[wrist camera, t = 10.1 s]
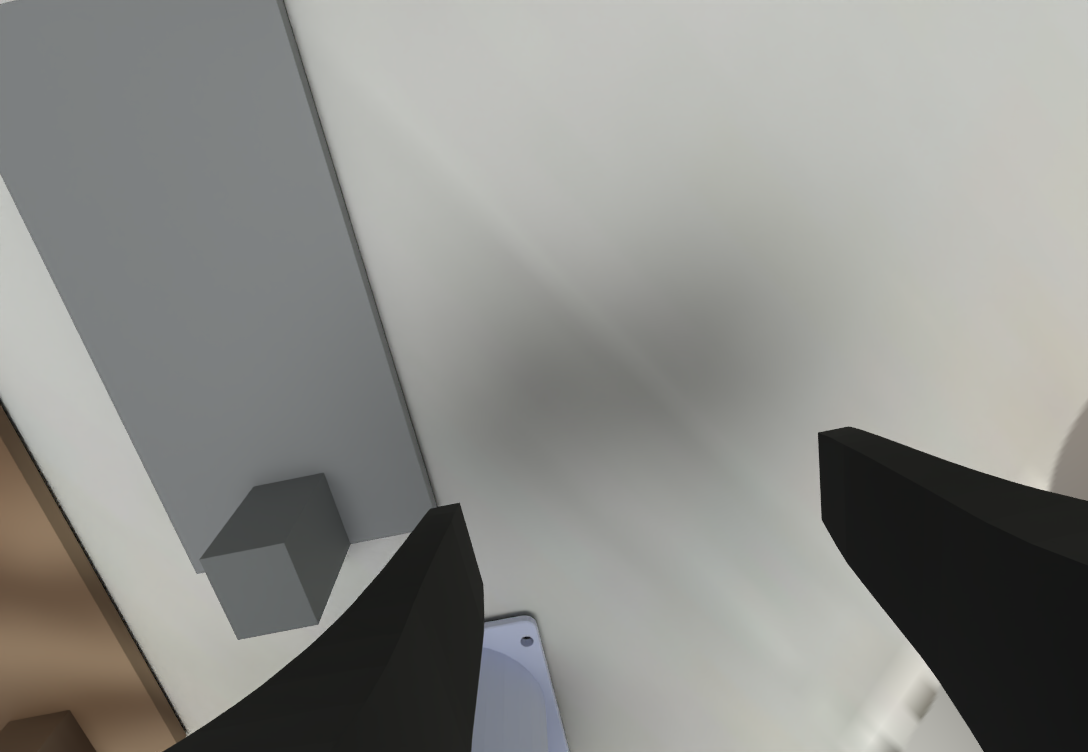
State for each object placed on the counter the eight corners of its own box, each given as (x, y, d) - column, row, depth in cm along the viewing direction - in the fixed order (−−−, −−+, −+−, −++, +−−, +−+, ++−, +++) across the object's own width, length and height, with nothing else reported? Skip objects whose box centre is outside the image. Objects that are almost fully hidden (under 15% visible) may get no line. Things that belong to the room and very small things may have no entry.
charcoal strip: (440, 517, 23) (423, 604, 19) (204, 563, 23) (134, 659, 19) (267, -48, 17) (182, -112, 12) (-56, 24, 17) (-249, -14, 13)
